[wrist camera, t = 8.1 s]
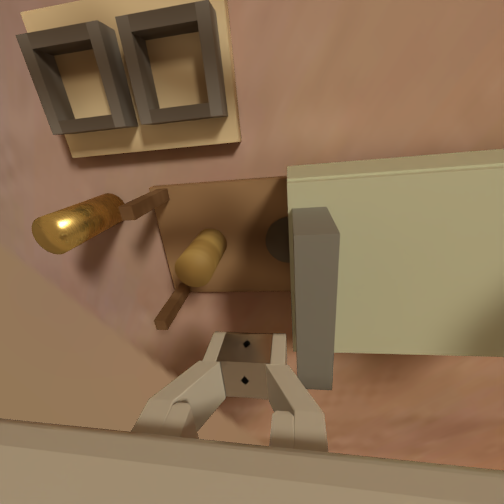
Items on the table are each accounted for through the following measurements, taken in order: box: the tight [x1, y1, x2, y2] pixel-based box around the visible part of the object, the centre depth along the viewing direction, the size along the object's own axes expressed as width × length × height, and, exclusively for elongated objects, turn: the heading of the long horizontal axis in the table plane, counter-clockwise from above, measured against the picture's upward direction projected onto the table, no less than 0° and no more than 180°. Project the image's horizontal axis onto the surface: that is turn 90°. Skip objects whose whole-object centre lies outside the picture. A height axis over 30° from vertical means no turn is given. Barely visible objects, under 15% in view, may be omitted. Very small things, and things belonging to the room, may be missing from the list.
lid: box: [287, 149, 504, 390], centre depth 14 cm, size 11×15×9 cm
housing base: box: [118, 176, 291, 330], centre depth 18 cm, size 9×14×6 cm, turn 95°
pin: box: [32, 193, 124, 254], centre depth 18 cm, size 2×2×6 cm
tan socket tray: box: [16, 0, 241, 158], centre depth 16 cm, size 8×12×2 cm, turn 95°
